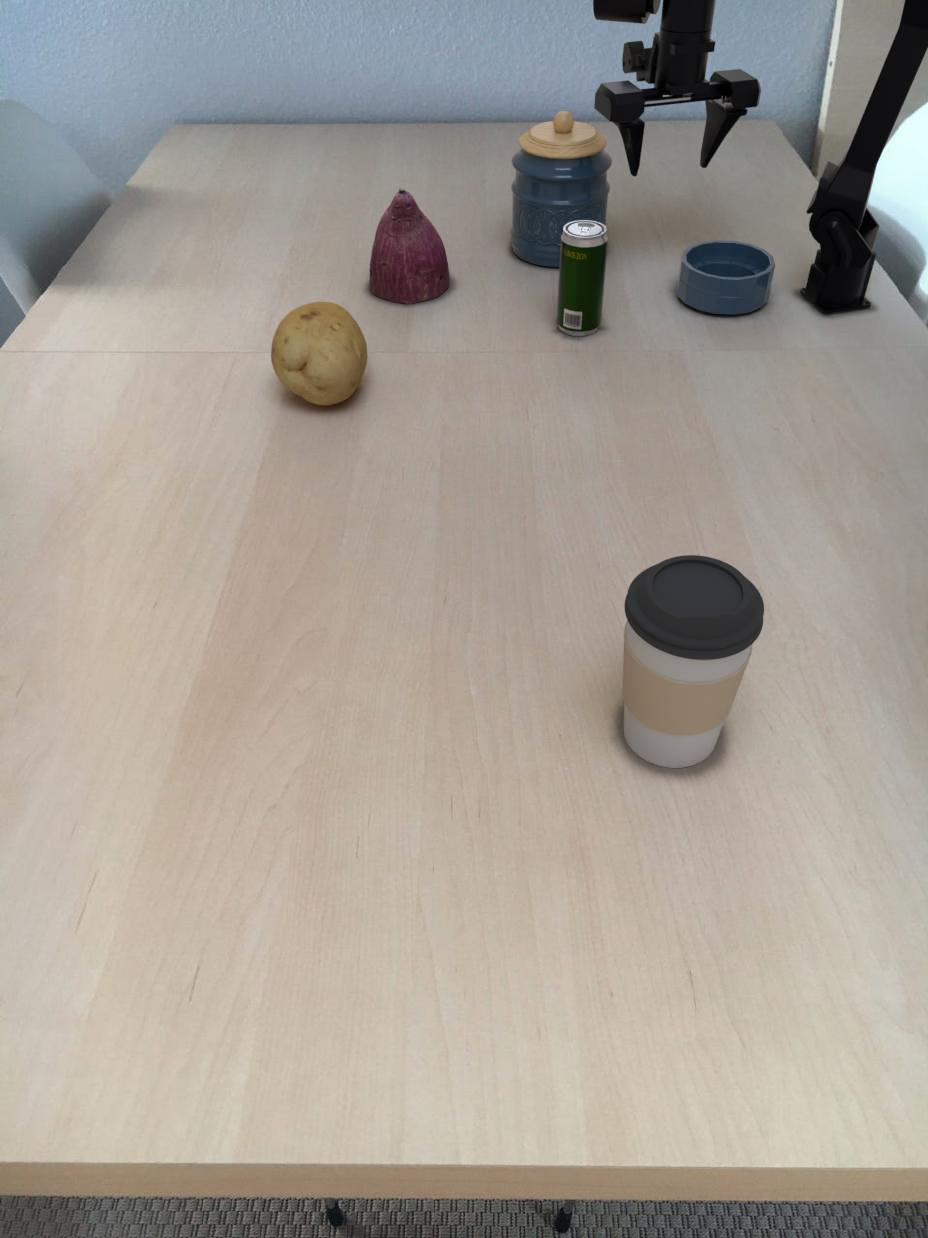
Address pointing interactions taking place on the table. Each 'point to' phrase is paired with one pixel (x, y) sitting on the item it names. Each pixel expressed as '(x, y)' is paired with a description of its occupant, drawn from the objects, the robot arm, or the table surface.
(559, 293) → the beer can
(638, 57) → the robot arm
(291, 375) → the potato
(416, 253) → the vegetable
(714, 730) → the coffee cup
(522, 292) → the table surface
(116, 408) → the table surface
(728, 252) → the bowl
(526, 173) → the canister
